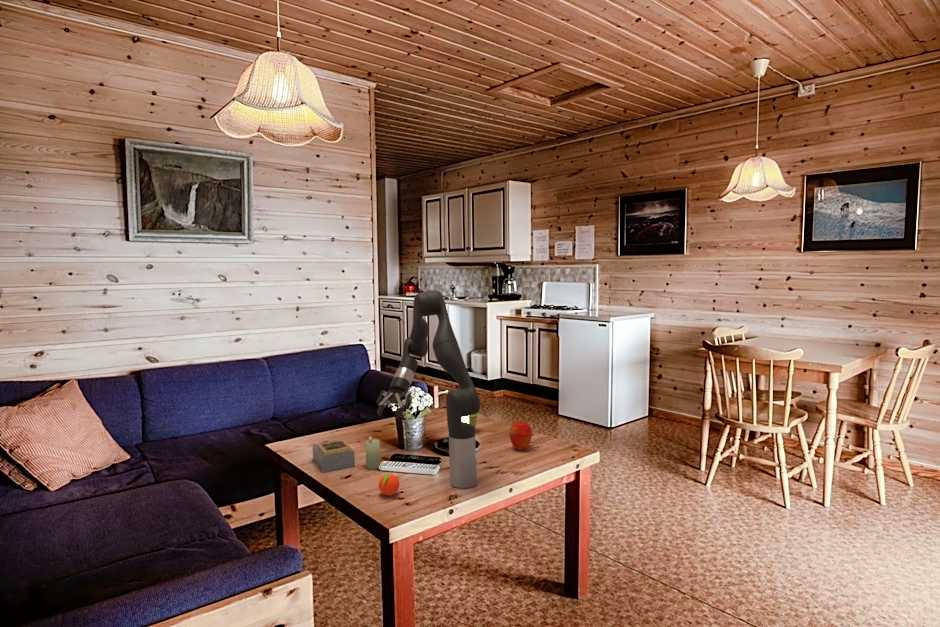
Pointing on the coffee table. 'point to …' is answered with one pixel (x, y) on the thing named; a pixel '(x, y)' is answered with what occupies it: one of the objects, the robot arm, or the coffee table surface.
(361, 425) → the coffee table surface
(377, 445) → the pale green candle
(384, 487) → the clementine
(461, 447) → the robot arm
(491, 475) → the coffee table surface
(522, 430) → the apple
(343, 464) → the grey open box
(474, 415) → the plant pot
